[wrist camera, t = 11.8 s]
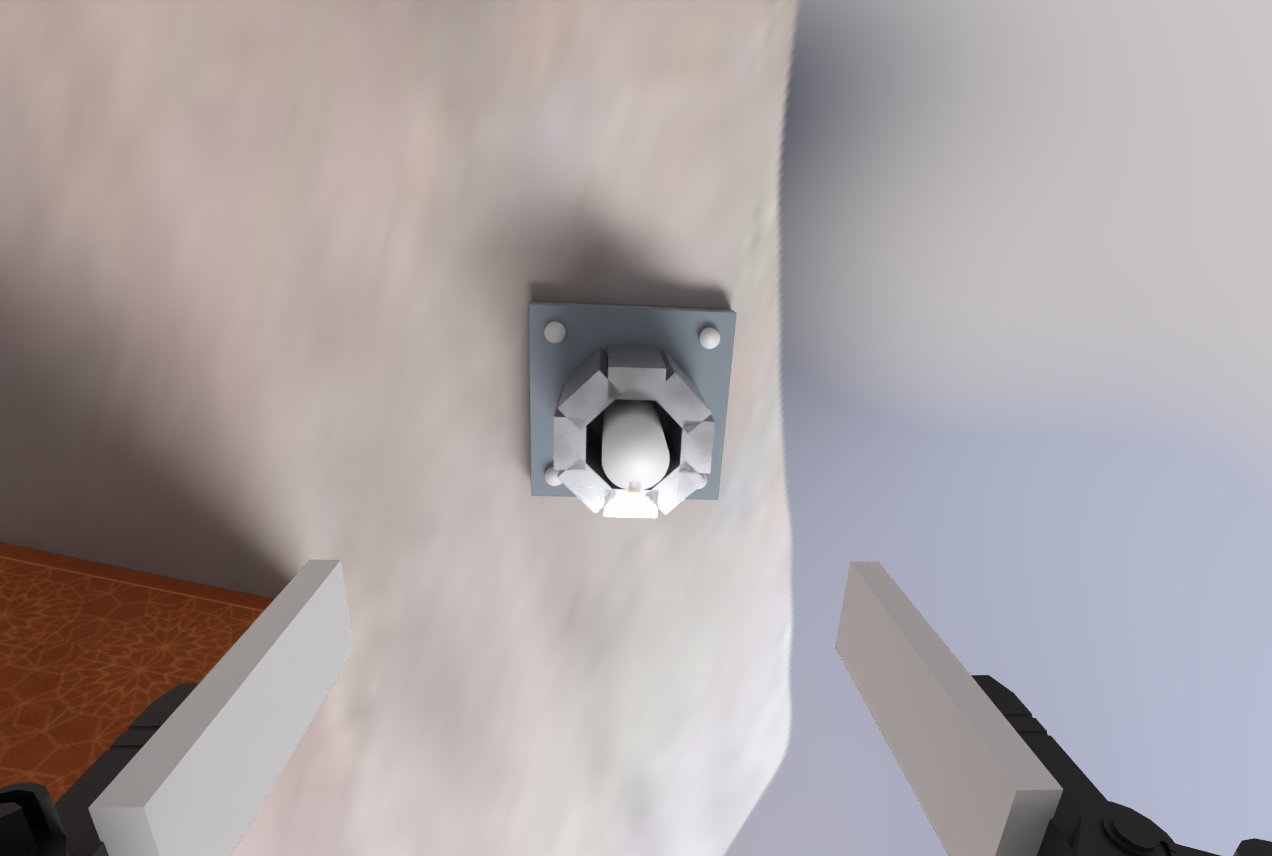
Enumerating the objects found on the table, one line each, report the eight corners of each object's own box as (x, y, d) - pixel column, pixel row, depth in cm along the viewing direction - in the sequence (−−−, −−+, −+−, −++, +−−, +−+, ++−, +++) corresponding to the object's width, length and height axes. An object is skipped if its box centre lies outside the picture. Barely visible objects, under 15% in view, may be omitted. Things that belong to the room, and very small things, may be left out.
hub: (562, 342, 34) (553, 364, 28) (701, 347, 34) (719, 370, 28) (562, 471, 36) (553, 515, 30) (690, 474, 37) (705, 518, 31)
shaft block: (532, 301, 35) (504, 327, 25) (731, 309, 35) (776, 337, 26) (534, 485, 39) (510, 568, 29) (713, 490, 39) (747, 572, 30)
